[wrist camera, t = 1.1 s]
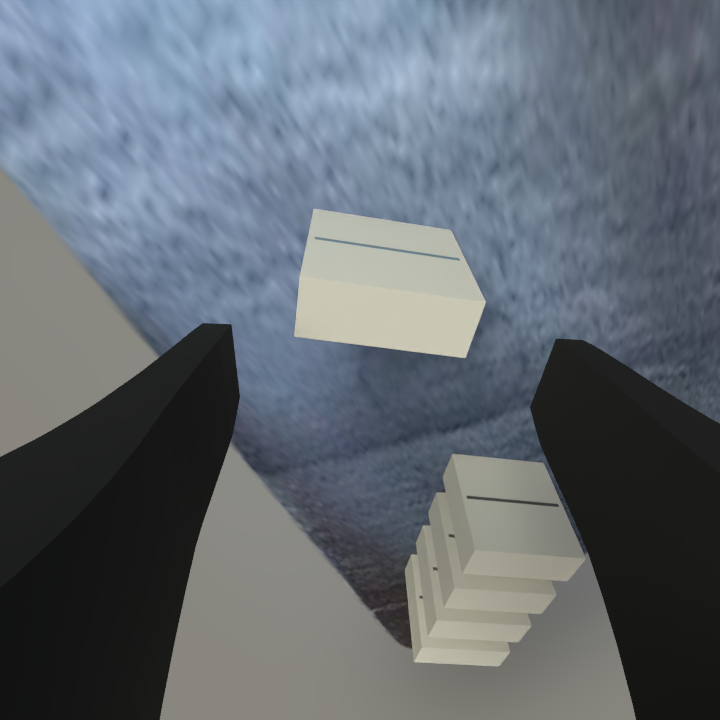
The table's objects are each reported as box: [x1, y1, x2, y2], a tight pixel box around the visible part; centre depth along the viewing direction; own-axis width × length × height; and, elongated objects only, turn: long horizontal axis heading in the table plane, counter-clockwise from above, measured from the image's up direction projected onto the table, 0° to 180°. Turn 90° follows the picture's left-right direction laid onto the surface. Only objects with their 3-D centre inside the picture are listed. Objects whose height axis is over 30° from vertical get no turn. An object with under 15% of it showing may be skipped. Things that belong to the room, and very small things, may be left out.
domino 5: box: [405, 554, 510, 666], centre depth 27 cm, size 5×2×5 cm, turn 81°
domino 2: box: [443, 454, 586, 581], centre depth 21 cm, size 5×2×5 cm, turn 81°
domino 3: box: [428, 492, 556, 614], centre depth 23 cm, size 5×2×5 cm, turn 81°
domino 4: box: [416, 525, 531, 642], centre depth 25 cm, size 5×2×5 cm, turn 81°
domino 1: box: [294, 209, 486, 358], centre depth 14 cm, size 5×2×5 cm, turn 81°
